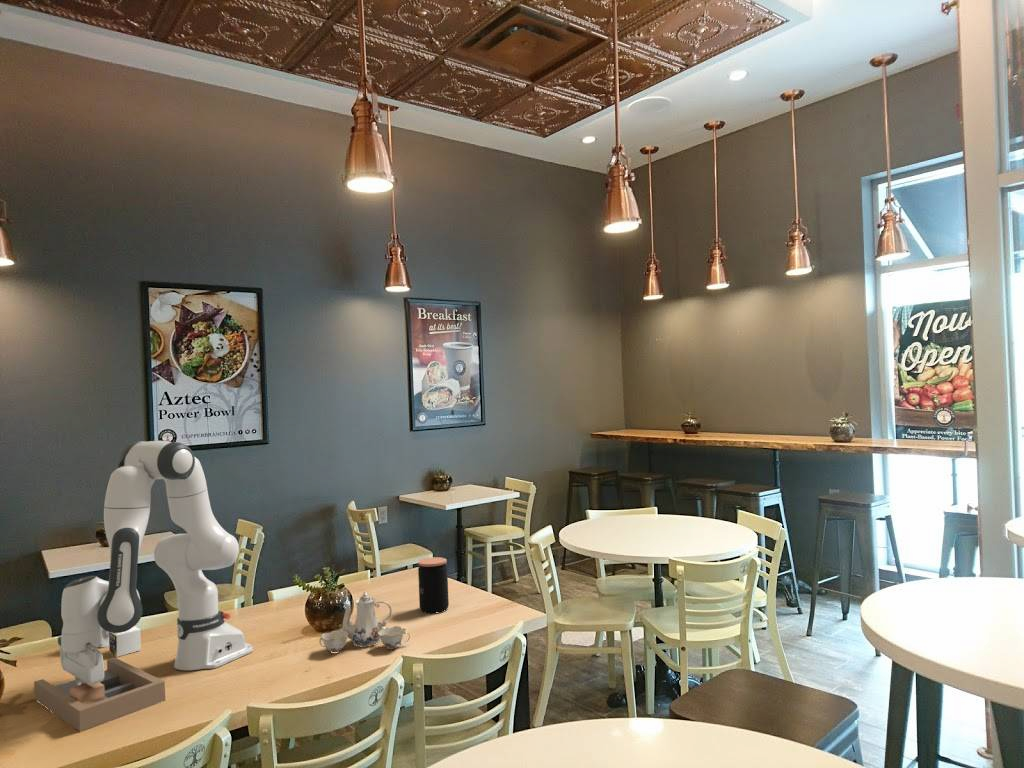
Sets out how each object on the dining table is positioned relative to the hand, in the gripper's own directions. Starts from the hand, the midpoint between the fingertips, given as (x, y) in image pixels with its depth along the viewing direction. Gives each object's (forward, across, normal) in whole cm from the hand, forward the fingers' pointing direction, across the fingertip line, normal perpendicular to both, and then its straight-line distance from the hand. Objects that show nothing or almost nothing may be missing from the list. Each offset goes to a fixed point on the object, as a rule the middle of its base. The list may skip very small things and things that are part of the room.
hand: (83, 693), depth 174 cm
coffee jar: (+3, -22, -107) cm, 110 cm away
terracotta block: (+1, -5, +1) cm, 5 cm away
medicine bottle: (+4, +34, -23) cm, 42 cm away
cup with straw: (+4, +47, -22) cm, 52 cm away
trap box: (+3, +1, -4) cm, 5 cm away
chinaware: (+4, -30, -69) cm, 76 cm away
